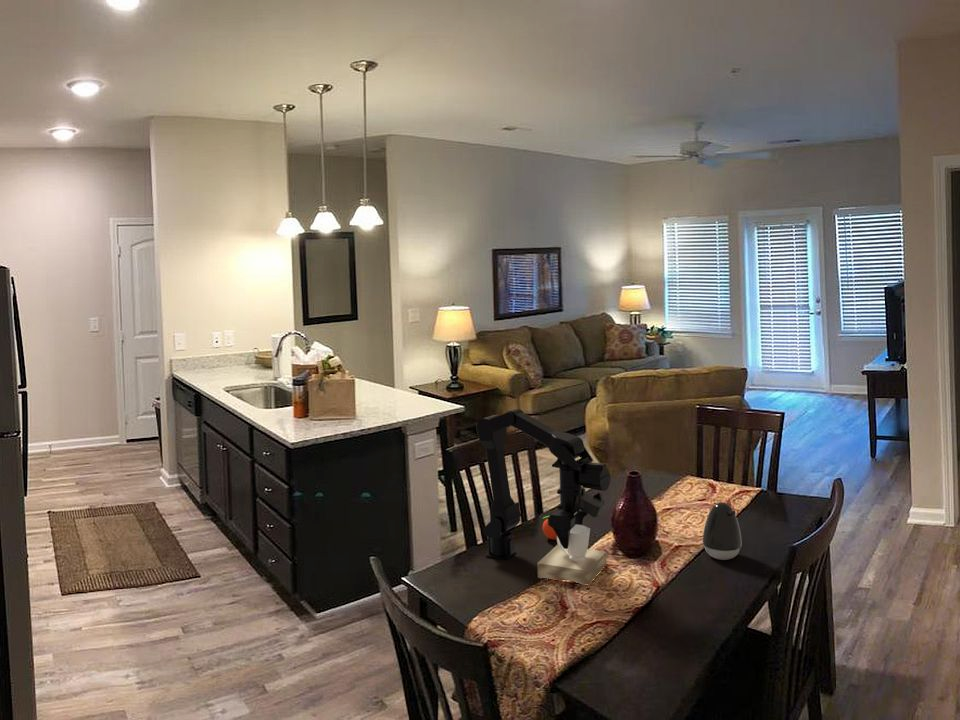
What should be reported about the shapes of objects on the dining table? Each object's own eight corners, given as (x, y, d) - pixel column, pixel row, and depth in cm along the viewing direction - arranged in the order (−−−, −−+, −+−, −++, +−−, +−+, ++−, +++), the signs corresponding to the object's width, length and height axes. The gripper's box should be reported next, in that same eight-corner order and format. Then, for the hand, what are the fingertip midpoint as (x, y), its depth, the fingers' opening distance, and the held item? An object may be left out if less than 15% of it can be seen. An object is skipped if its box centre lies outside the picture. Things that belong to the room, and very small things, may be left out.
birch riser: (537, 577, 207) (537, 563, 206) (557, 558, 219) (557, 544, 219) (588, 586, 201) (588, 571, 200) (606, 566, 213) (606, 551, 212)
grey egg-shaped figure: (717, 566, 210) (718, 510, 208) (695, 552, 220) (695, 499, 218) (750, 560, 213) (750, 505, 211) (726, 547, 223) (726, 495, 221)
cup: (580, 565, 204) (580, 535, 203) (549, 556, 210) (549, 527, 209) (596, 557, 209) (595, 527, 208) (565, 548, 216) (564, 520, 215)
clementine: (536, 541, 233) (535, 518, 232) (543, 533, 240) (542, 510, 239) (562, 544, 230) (561, 520, 229) (569, 536, 236) (568, 513, 235)
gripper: (588, 498, 195) (589, 559, 197) (611, 478, 211) (612, 534, 213) (546, 493, 200) (547, 553, 202) (572, 474, 216) (573, 529, 218)
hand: (572, 542), depth 209 cm, fingers open, 9 cm apart
